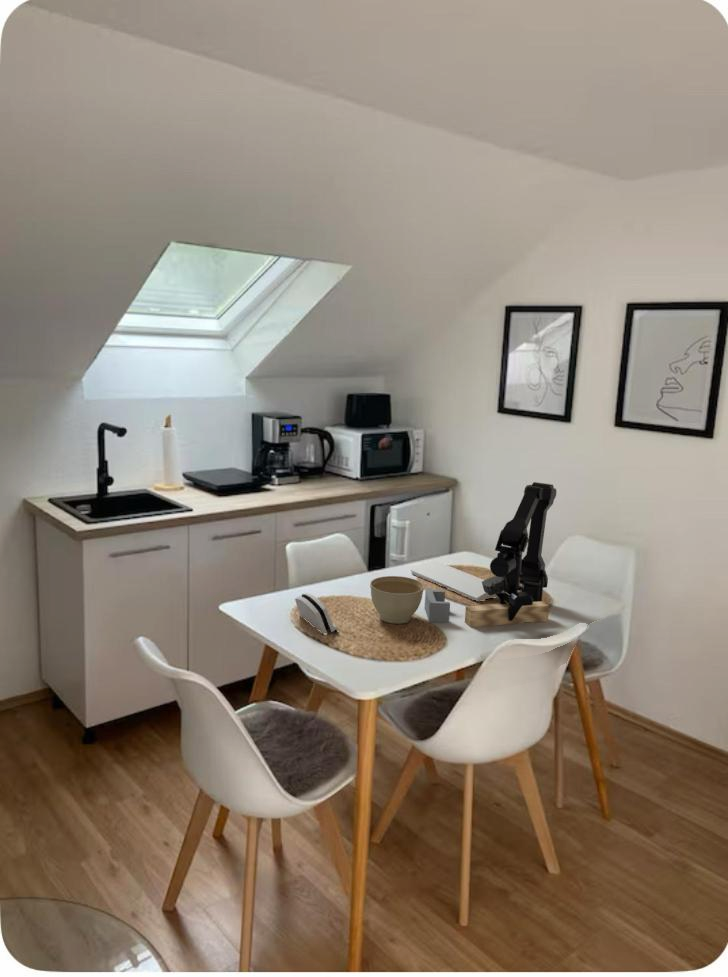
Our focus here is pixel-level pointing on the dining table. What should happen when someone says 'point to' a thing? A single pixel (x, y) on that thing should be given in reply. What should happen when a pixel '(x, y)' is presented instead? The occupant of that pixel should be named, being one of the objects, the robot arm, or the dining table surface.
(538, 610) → the oak slat
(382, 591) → the planter bowl
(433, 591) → the end cap
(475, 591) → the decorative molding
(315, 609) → the grey black arched block
